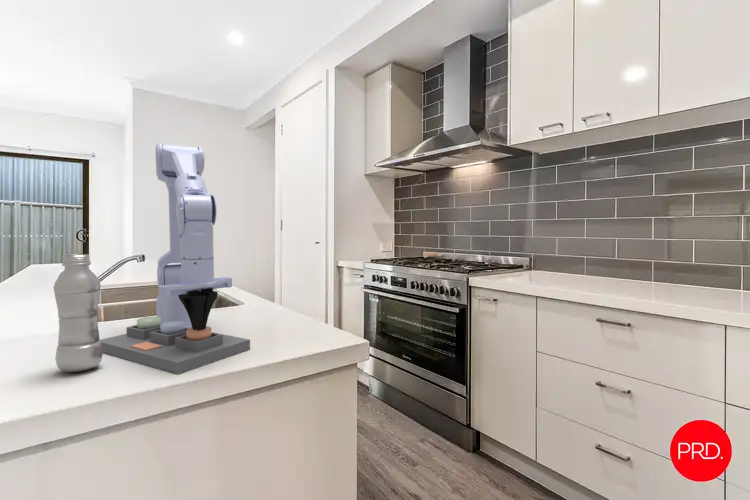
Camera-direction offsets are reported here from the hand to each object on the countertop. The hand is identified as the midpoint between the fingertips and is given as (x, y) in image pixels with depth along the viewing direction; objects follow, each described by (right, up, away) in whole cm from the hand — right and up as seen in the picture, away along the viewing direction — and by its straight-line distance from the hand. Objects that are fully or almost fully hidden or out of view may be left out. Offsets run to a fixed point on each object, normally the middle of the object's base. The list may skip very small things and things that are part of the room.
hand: (199, 329), depth 77 cm
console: (-7, -5, +4) cm, 10 cm away
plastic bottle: (-17, -6, -7) cm, 20 cm away
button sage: (-14, -1, +8) cm, 16 cm away
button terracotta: (0, -2, 0) cm, 2 cm away
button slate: (-7, -2, +4) cm, 8 cm away
